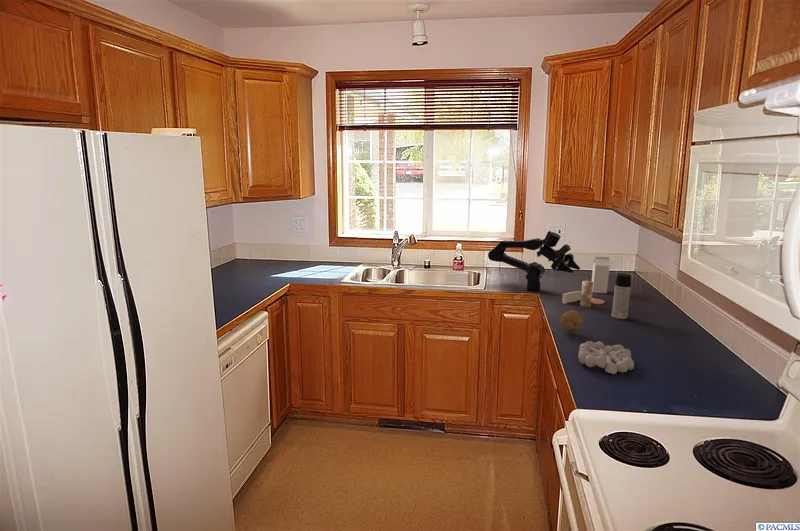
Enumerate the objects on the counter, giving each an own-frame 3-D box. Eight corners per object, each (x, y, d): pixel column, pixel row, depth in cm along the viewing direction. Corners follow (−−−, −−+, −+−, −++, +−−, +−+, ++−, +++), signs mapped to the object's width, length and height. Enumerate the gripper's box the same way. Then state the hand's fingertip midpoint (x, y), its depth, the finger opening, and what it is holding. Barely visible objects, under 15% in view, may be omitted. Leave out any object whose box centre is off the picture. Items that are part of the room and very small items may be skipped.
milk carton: (606, 293, 283) (610, 258, 278) (592, 292, 284) (596, 257, 280) (604, 290, 289) (608, 255, 285) (590, 289, 291) (594, 255, 287)
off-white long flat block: (564, 303, 263) (565, 294, 262) (561, 302, 264) (562, 293, 263) (580, 300, 269) (581, 291, 268) (577, 299, 271) (578, 290, 270)
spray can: (627, 316, 244) (632, 273, 240) (626, 320, 238) (631, 276, 234) (612, 314, 247) (616, 272, 243) (611, 318, 241) (615, 275, 237)
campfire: (561, 353, 199) (563, 338, 197) (611, 350, 203) (613, 335, 202) (595, 379, 178) (597, 363, 176) (650, 374, 182) (652, 358, 181)
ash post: (580, 306, 258) (582, 282, 255) (579, 303, 263) (582, 280, 260) (591, 307, 257) (593, 283, 254) (590, 304, 261) (593, 281, 259)
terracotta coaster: (586, 303, 264) (586, 302, 264) (585, 298, 272) (585, 297, 272) (605, 305, 261) (605, 303, 261) (604, 300, 270) (604, 299, 270)
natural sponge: (576, 339, 213) (578, 315, 211) (555, 334, 219) (557, 310, 217) (585, 334, 220) (588, 310, 218) (565, 328, 226) (567, 306, 224)
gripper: (551, 243, 267) (577, 260, 260) (565, 238, 281) (590, 254, 274) (540, 261, 272) (566, 278, 265) (555, 256, 286) (580, 272, 279)
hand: (576, 270), depth 271 cm, fingers open, 9 cm apart
